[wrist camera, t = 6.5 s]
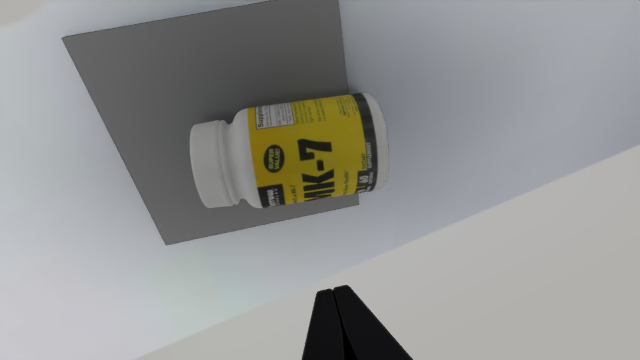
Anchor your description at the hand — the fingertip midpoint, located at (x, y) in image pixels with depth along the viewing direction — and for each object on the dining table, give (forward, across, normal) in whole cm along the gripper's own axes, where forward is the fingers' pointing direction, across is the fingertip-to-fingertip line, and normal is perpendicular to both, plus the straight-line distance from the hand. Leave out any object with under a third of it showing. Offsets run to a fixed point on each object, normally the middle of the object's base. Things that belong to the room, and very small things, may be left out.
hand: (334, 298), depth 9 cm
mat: (+12, +3, 0) cm, 12 cm away
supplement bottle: (+9, -4, +1) cm, 10 cm away
